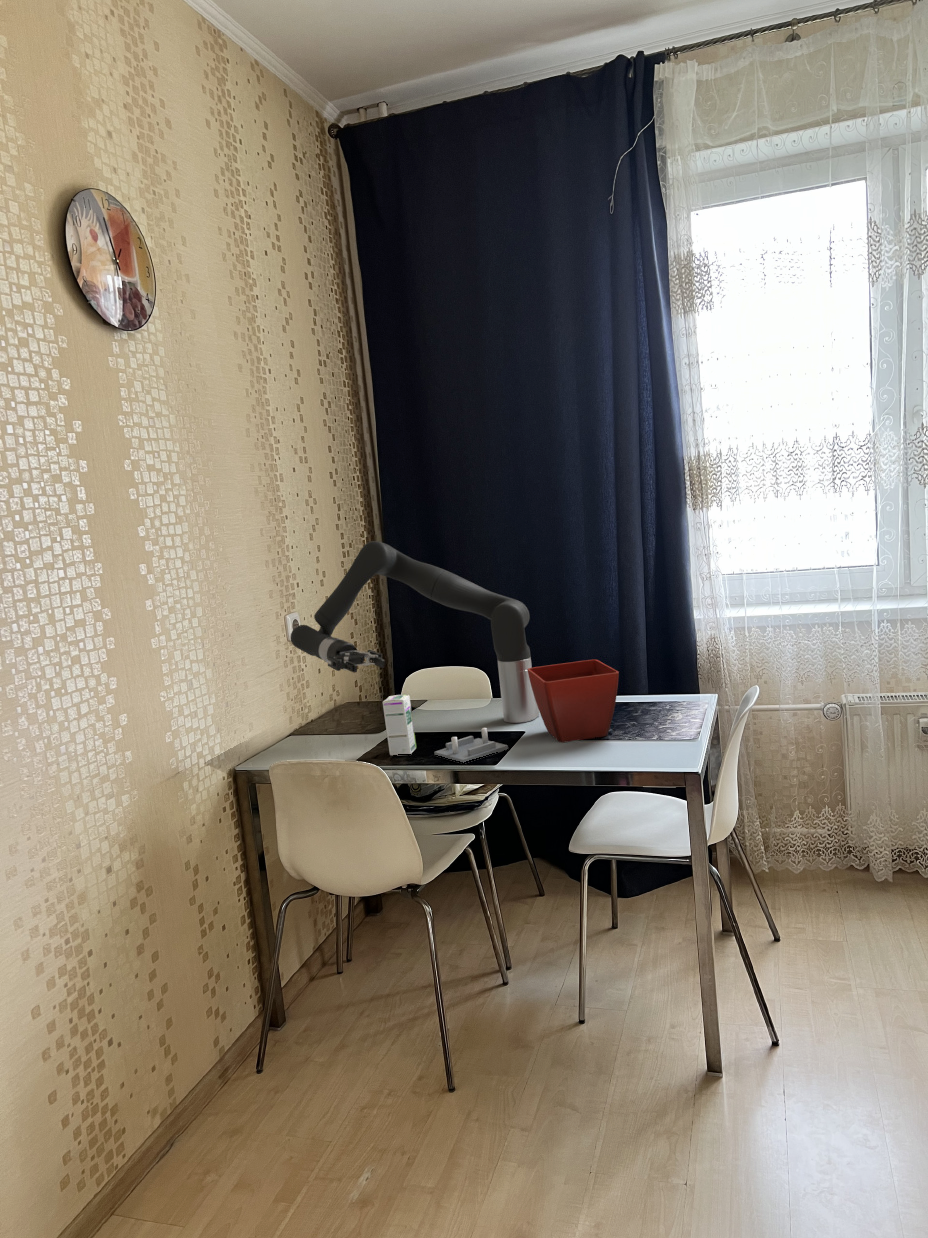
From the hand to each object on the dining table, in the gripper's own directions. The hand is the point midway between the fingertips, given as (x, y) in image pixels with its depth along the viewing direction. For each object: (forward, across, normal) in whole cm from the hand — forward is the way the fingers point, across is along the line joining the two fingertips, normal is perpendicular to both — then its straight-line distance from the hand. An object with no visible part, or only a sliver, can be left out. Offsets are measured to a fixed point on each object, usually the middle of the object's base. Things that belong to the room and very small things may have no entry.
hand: (369, 666), depth 238 cm
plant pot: (+41, +36, +14) cm, 57 cm away
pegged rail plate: (+30, +11, +17) cm, 36 cm away
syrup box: (+14, +1, +20) cm, 24 cm away
